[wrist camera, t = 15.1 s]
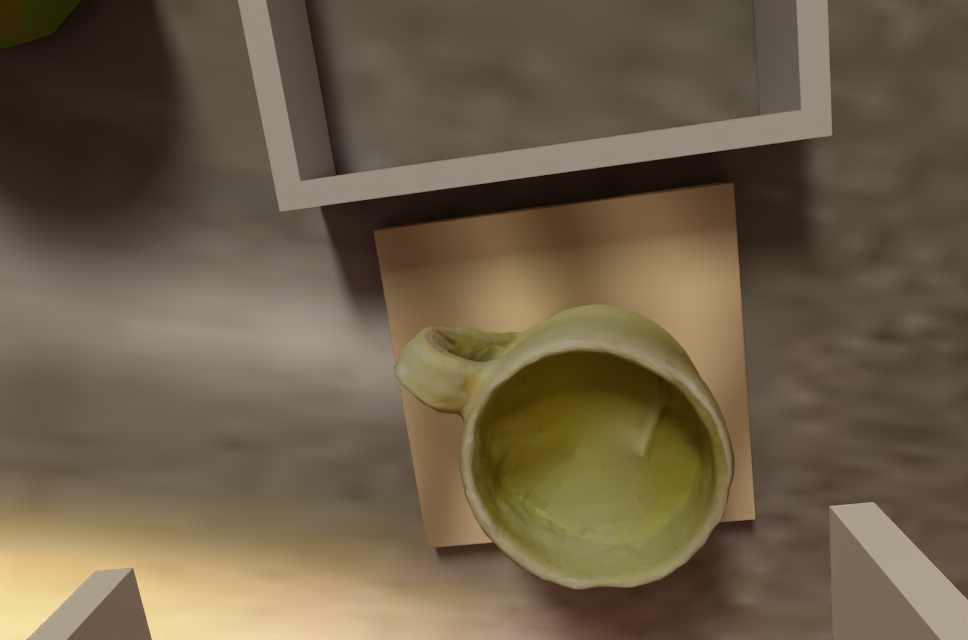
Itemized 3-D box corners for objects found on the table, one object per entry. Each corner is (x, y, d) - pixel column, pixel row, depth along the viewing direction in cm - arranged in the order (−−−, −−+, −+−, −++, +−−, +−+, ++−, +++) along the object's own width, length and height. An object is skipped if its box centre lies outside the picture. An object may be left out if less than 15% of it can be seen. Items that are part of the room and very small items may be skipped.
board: (431, 535, 36) (427, 548, 35) (379, 227, 33) (373, 230, 32) (747, 506, 35) (755, 519, 33) (726, 181, 31) (733, 182, 30)
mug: (803, 380, 30) (788, 519, 21) (638, 515, 35) (572, 669, 27) (576, 180, 31) (475, 235, 23) (448, 340, 36) (328, 434, 28)
